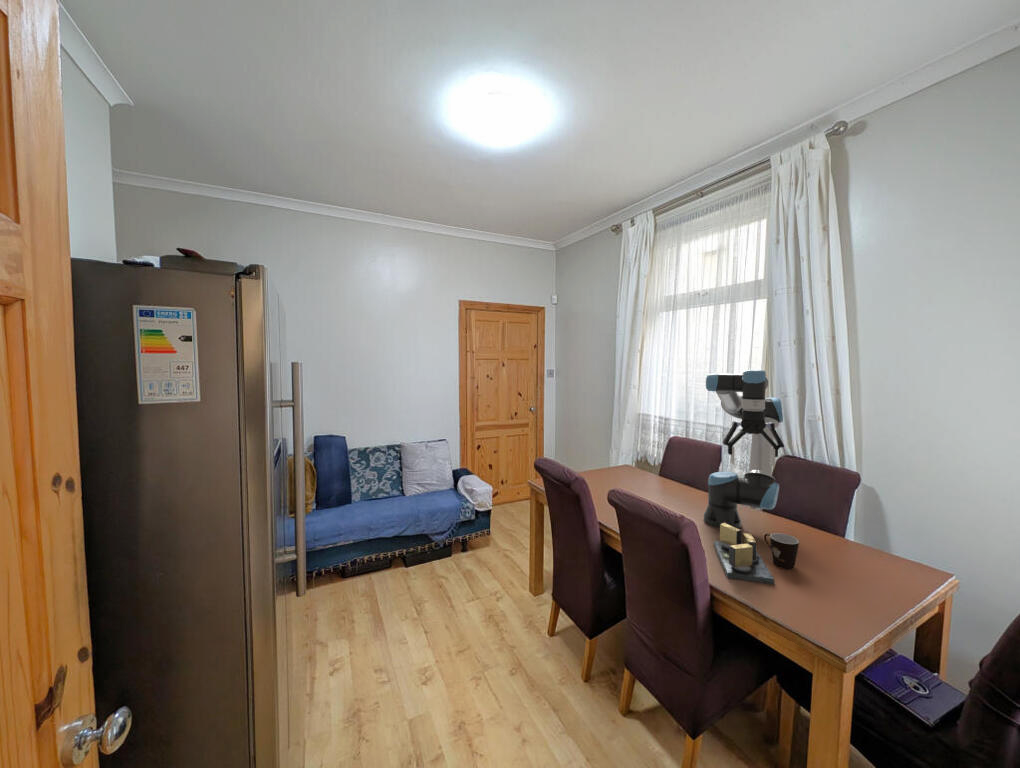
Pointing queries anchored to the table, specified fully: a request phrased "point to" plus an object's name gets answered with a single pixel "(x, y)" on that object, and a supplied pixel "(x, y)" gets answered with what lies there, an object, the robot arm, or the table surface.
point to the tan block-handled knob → (729, 535)
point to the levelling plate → (756, 575)
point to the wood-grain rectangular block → (749, 540)
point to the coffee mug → (783, 550)
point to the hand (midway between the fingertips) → (752, 463)
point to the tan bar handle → (741, 557)
